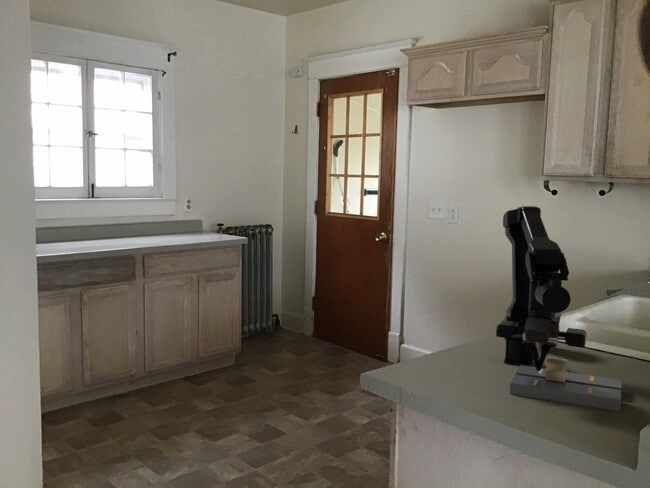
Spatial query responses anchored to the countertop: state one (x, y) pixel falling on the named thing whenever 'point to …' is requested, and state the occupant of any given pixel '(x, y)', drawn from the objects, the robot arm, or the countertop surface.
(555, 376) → the fader knob
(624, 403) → the countertop surface
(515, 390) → the fader console
